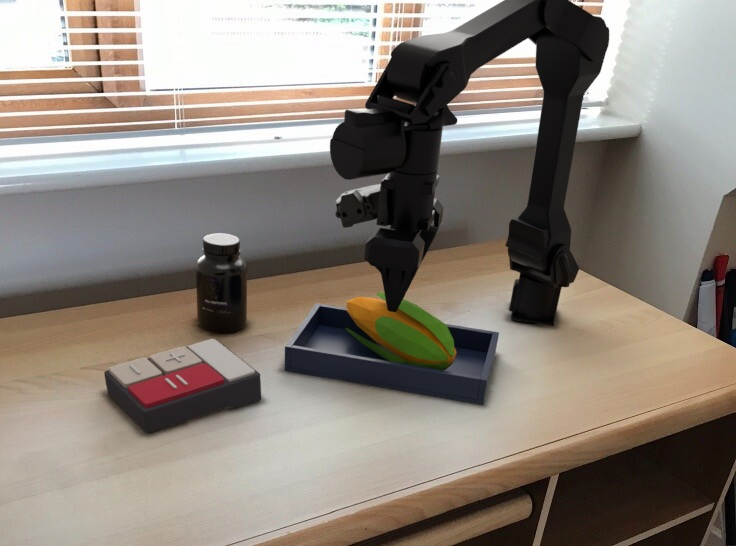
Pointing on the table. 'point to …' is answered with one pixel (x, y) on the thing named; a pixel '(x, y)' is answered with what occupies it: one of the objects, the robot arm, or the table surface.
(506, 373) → the table surface
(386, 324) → the corn
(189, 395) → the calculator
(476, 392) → the tray
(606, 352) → the table surface
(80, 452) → the table surface
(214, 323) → the supplement bottle
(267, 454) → the table surface
